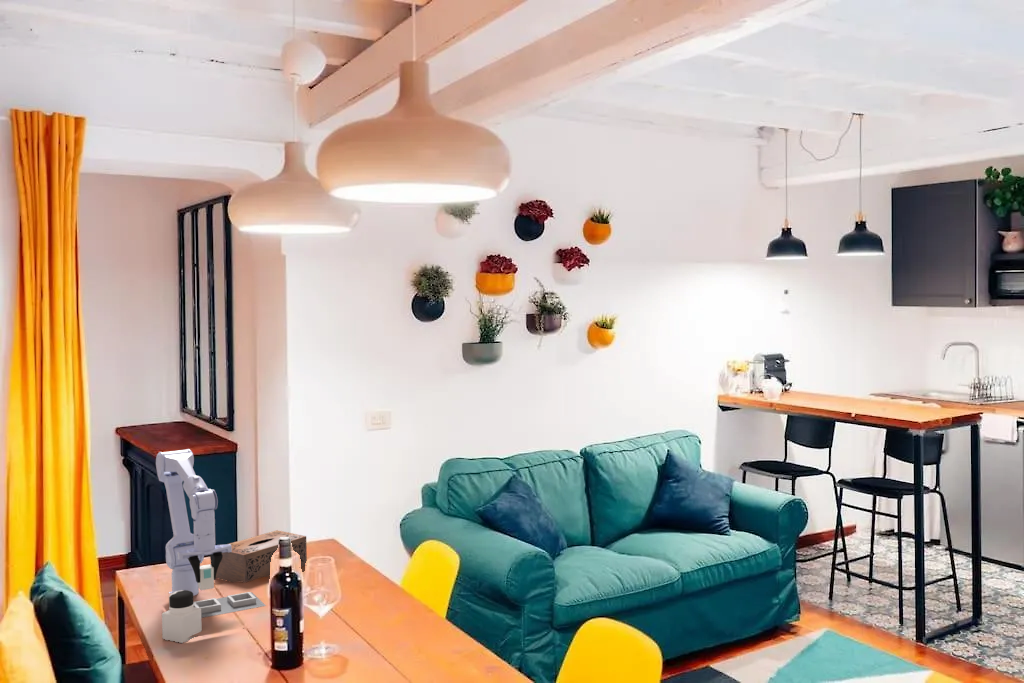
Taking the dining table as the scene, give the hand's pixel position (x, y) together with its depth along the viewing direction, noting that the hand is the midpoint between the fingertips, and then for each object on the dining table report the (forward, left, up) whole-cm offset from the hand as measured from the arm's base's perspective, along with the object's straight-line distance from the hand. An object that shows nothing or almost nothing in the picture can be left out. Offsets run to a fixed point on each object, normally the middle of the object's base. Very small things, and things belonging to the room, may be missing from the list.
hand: (205, 580), depth 258 cm
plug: (0, 0, -2) cm, 2 cm away
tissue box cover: (-30, +25, -10) cm, 40 cm away
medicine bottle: (+16, -10, -9) cm, 21 cm away
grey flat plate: (0, +5, -9) cm, 10 cm away
